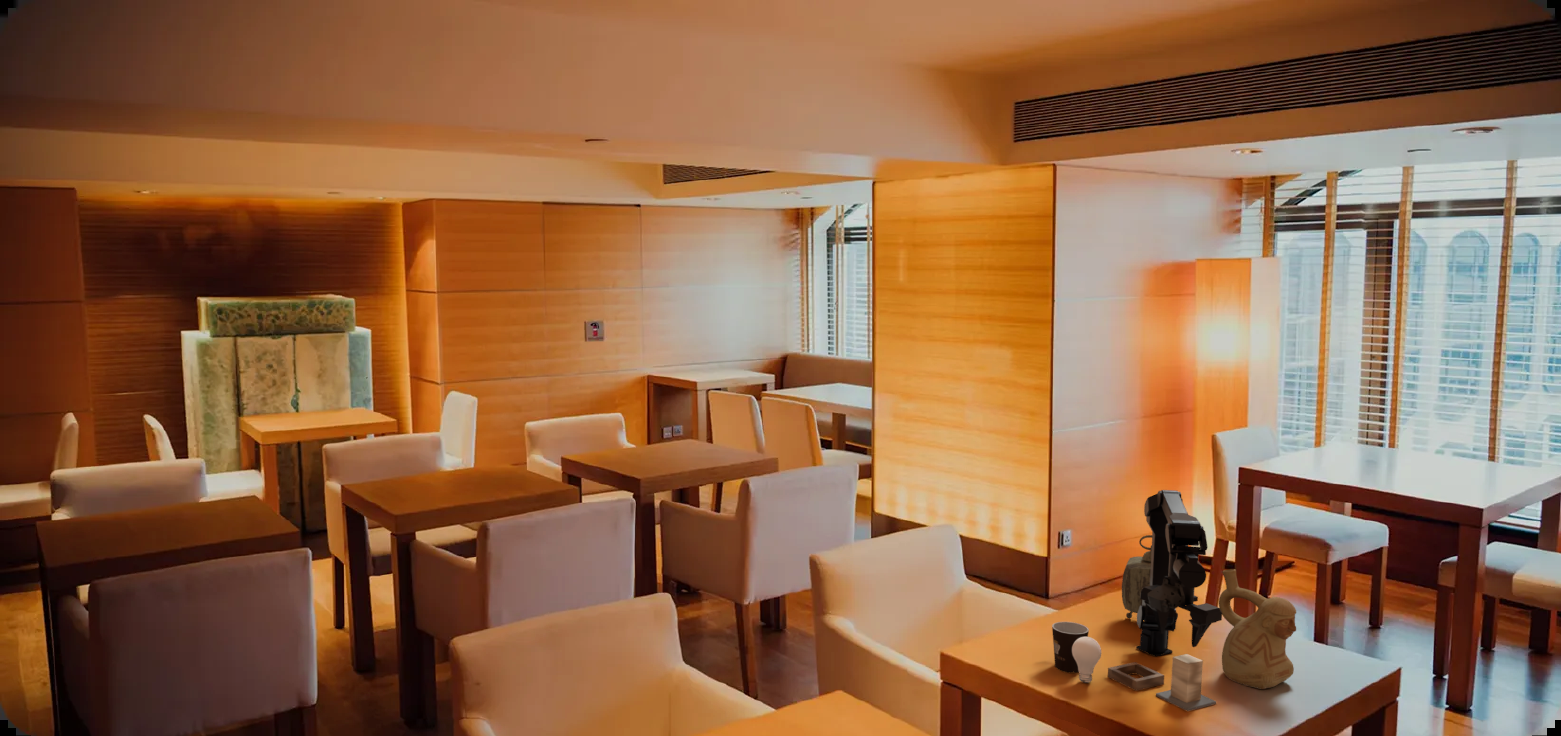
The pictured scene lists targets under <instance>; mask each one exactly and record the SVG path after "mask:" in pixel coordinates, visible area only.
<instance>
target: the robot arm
mask: <svg viewBox="0 0 1561 736" xmlns="http://www.w3.org/2000/svg"><path fill="white" fill-rule="evenodd" d="M1143 509H1144V511H1143V513H1144V514H1143V515H1144V516H1145V517H1146V523H1147V525H1148V526H1149V528H1150V530H1151V532H1152V533H1151V535H1152V538H1151V545H1152V551H1151V571H1150V586H1146V587H1143V588H1142V590H1141V593H1140V599H1142V605H1140V607H1139V610H1138V613H1136V624H1137V626H1138V628H1139V630H1141V633H1140V638H1139V639H1140V644H1139V645H1136V646H1135V649H1137V650H1139V651H1141V652H1143V653H1145V654H1148V655H1150V656H1151V657H1161V656H1164V655H1169V654H1172V653H1173V650H1172V649H1170V648H1168V647H1169V632H1175V630H1176V626H1177V620H1178V618H1179V617H1178V616H1179V614H1178V612H1177V609H1178V608H1180V609H1182V610H1185V611H1187V612H1189V617H1190V619H1188V621H1189V624H1191V626H1192V627H1191V647H1193V648H1195V647H1197V646H1198V645H1199V643H1200V641H1201V640H1202V638H1203V636H1204V634H1205V633H1206V631H1207V630H1208V629H1209V628H1210V626H1211V625H1212V624H1215V623H1217V622H1220V621H1222V620H1223V615H1222V611H1221V610H1220V608H1219V606H1215V605H1212V604H1210V603H1207V602H1206V603H1202V604H1195V602H1198V599H1199V598H1198V597H1199V596H1197V595H1195V588H1199V587H1201V586H1203V584H1204V583H1205V582H1206V579H1207V572H1206V570H1205V568H1204V566H1203V565H1202V564H1201V563H1200V560H1199V556H1206V555H1207V553H1206V552H1207V550H1208V540H1207V534H1206V531H1205V530H1204V529H1205V527H1204V526H1203V525H1202V524H1201V522H1200V521H1199V519H1198V518H1197V517H1196V516H1192V515H1190V514H1189V513H1188V511H1187V509H1186V507H1185V505H1184V502H1183V498H1182V493H1181V491H1178V490H1173V489H1172V490H1171V489H1161V490H1158V491H1157V493H1156V494H1154V495H1151V496H1148V497H1147V498H1146V501H1145V502H1144V508H1143Z"/></svg>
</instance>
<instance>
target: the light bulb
mask: <svg viewBox="0 0 1561 736" xmlns="http://www.w3.org/2000/svg"><path fill="white" fill-rule="evenodd" d="M1072 654H1073V657H1074V659H1075V661H1076V663H1077V665H1078V671H1079V672H1078V680H1079V681H1080V682H1081V683H1083V684H1089V683H1091V682H1092V681H1093V676H1092V675H1093V674H1094V668H1095V666H1096V665H1097V664H1098V662H1099V661H1100V659H1101V658H1102V648H1101V645H1100V643H1099V642H1098V641H1097V640H1096V639H1094V638H1093V637H1090V636H1088V637H1080V638H1079V639H1077V640H1076V641H1075V642H1074V644H1073V646H1072Z"/></svg>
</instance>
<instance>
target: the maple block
mask: <svg viewBox="0 0 1561 736" xmlns="http://www.w3.org/2000/svg"><path fill="white" fill-rule="evenodd" d="M1171 663H1172V664H1171V683H1170V690H1171V696H1173V697H1175V698H1177V699H1179V700H1182V701H1184V702H1186V703H1188V702H1192V701H1196V700H1200V699H1201V695H1202V684H1203V683H1202V682H1203V665H1204V661H1203V659H1200V658H1197V657H1195V656H1193V655H1190V654H1188V653H1185V654H1180V655H1176V656H1172V662H1171Z"/></svg>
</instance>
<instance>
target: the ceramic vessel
mask: <svg viewBox="0 0 1561 736" xmlns="http://www.w3.org/2000/svg"><path fill="white" fill-rule="evenodd" d="M1222 575H1223V577H1224V581H1225V587H1226V589H1224V590H1223V591H1222V592H1221V594H1220V596H1219V599H1218V608H1220V610H1221V611H1222V618H1224V620H1226V621H1227V622H1228V623H1229V624H1230V625H1231V626H1233V627H1232V629H1231V630H1230V631H1229V632H1228V634H1227V636H1226V638H1225V640H1224V644H1223V648H1222V653H1221V665H1222V666H1221V667H1222V671H1223V674H1224V675H1225V677H1226V678H1228V679H1229V680H1231V681H1233V682H1235V683H1238V684H1240V685H1243V686H1246V687H1250V688H1256V689H1259V690H1266V689H1270V688H1274V687H1276V686H1278V685H1279V684H1281V683H1283V682H1286V681H1287V680H1288V679H1289V678H1291V676H1293V674H1294V672H1295V671H1294V670H1295V667H1294V664H1293V661H1291V660H1290V658H1289V657H1288V655H1287V654H1286V653H1287V652H1286V646H1287V640H1288V639H1289V638H1290V637H1292V635H1293V634H1294V633H1295V632H1297V626H1296V614H1297V609H1296V607H1295V606H1294V605H1293V603H1292V602H1291V601H1290V600H1288V599H1286V598H1283V597H1281V596H1279V597H1278V596H1273V597H1269V598H1266V597H1264V596H1263V595H1261V594H1259V593H1258V592H1256V591H1253V590H1250V589H1248V588H1244V587H1243V588H1242V587H1240V586H1239V583H1238V578H1237V569H1235V568H1230V569H1224V570H1222ZM1235 598H1236V599H1244V600H1246V601H1249V602H1250V603H1252V604H1253V605H1255V606H1256V607H1257V610H1256V611H1255V612H1253V613H1252V614H1250V615H1249V616H1247V617H1242V616H1240V615H1238V614H1237V613H1235V611H1234V610H1233V608H1232V606H1231V601H1232V600H1233V599H1235Z"/></svg>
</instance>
